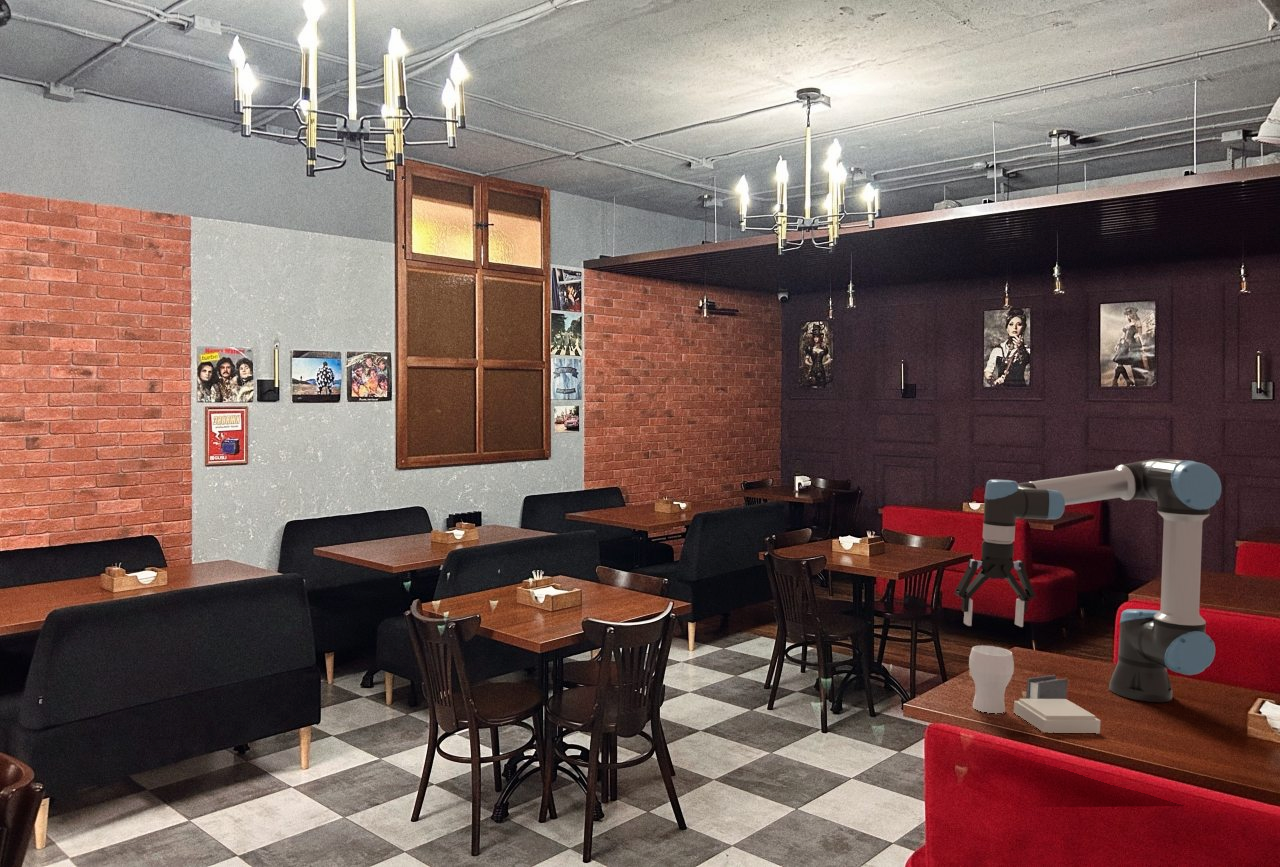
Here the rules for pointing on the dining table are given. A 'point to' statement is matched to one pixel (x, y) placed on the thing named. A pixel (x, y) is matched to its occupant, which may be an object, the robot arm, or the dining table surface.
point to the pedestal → (1057, 716)
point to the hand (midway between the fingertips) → (993, 625)
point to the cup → (990, 677)
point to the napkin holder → (1046, 688)
